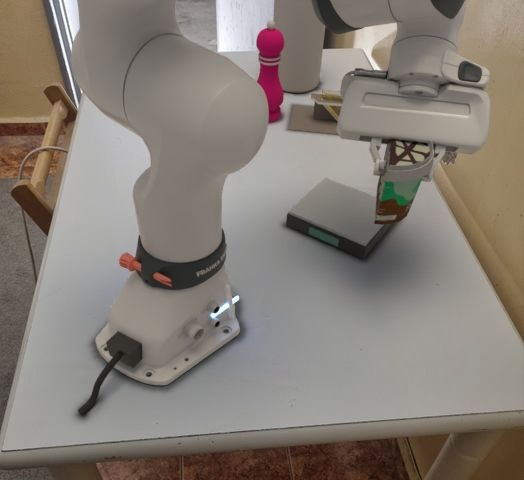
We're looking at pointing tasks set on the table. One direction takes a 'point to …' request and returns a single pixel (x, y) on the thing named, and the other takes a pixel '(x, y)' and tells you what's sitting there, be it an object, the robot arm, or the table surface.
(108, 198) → the table surface
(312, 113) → the platform
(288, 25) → the cylinder vase
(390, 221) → the food container
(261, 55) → the pepper mill
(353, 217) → the kitchen scale
